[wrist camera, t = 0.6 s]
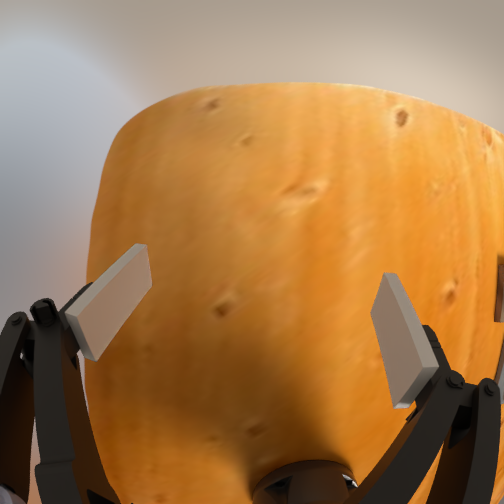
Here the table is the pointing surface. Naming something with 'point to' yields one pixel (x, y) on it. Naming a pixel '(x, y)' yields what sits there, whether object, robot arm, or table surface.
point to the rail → (500, 296)
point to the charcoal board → (501, 375)
